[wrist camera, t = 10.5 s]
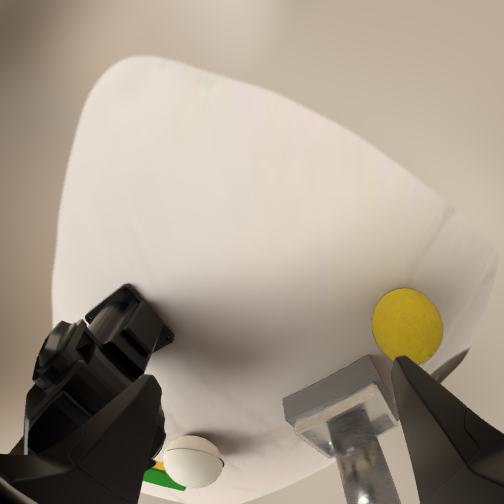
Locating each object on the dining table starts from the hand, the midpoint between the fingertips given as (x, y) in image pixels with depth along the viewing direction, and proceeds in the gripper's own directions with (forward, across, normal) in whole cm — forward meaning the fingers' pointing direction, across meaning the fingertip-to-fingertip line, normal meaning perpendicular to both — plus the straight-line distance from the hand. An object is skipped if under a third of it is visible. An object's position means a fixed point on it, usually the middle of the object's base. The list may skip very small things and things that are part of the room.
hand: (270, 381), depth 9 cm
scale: (+13, -5, +20) cm, 25 cm away
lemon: (+14, -9, +7) cm, 18 cm away
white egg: (+10, +12, +23) cm, 28 cm away
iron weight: (+9, -5, +19) cm, 22 cm away
